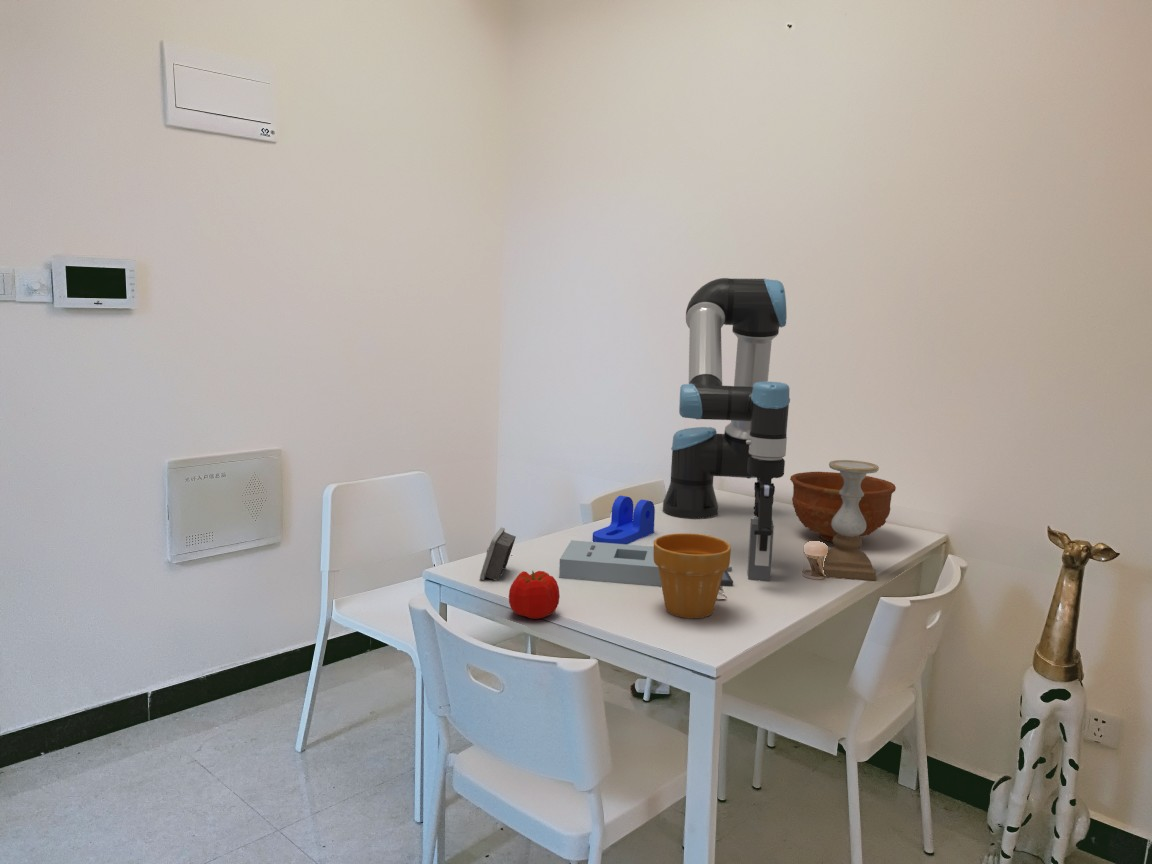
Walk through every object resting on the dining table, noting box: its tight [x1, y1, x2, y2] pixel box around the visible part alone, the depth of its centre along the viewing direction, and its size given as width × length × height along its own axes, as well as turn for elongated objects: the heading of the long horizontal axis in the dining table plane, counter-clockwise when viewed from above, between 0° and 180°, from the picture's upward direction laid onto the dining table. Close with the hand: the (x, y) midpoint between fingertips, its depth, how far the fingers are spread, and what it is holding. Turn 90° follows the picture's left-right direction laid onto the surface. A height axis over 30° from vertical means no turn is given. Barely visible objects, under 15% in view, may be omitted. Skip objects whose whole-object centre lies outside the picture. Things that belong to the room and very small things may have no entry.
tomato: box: [508, 570, 561, 620], centre depth 151 cm, size 9×9×8 cm
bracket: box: [591, 495, 656, 545], centre depth 202 cm, size 18×8×9 cm, turn 145°
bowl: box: [789, 471, 897, 543], centre depth 206 cm, size 25×25×15 cm
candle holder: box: [823, 459, 880, 582], centre depth 180 cm, size 11×11×24 cm
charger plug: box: [746, 518, 775, 582], centre depth 175 cm, size 4×4×12 cm
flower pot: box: [653, 532, 732, 619], centre depth 155 cm, size 14×14×13 cm
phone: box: [720, 570, 734, 587], centre depth 173 cm, size 7×14×1 cm, turn 91°
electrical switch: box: [479, 527, 517, 581], centre depth 172 cm, size 9×5×9 cm, turn 173°
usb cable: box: [726, 566, 733, 572], centre depth 182 cm, size 15×1×1 cm, turn 71°
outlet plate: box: [558, 539, 662, 587], centre depth 176 cm, size 14×22×4 cm, turn 81°
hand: (759, 555), depth 175 cm, fingers open, 13 cm apart
